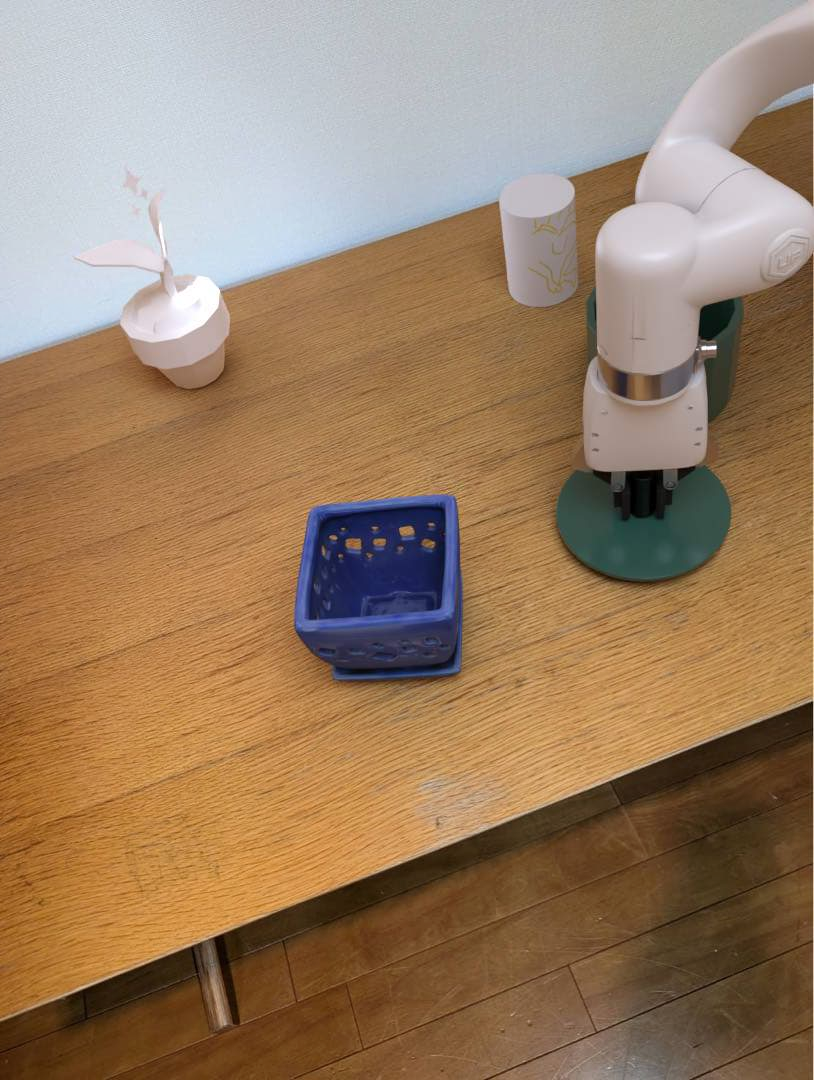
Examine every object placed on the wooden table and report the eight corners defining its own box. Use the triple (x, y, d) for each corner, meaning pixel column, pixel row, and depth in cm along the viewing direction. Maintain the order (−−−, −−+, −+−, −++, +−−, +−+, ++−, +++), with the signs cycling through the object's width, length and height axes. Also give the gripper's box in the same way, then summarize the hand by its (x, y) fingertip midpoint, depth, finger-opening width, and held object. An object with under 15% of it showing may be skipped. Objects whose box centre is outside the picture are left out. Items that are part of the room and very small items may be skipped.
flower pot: (335, 580, 95) (304, 501, 86) (473, 570, 93) (457, 488, 84) (324, 703, 87) (289, 631, 78) (474, 695, 85) (457, 620, 76)
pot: (721, 316, 108) (729, 235, 100) (744, 452, 96) (756, 372, 88) (585, 326, 111) (583, 248, 103) (591, 460, 99) (589, 383, 91)
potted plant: (235, 326, 121) (162, 139, 102) (255, 385, 114) (181, 195, 95) (136, 361, 120) (44, 178, 101) (151, 422, 113) (54, 238, 94)
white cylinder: (544, 316, 113) (537, 226, 104) (494, 289, 117) (483, 200, 108) (592, 279, 115) (590, 189, 106) (542, 254, 120) (535, 164, 111)
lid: (720, 449, 96) (725, 400, 91) (740, 582, 86) (747, 537, 81) (555, 457, 99) (552, 411, 94) (557, 588, 89) (553, 544, 84)
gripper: (747, 318, 78) (727, 472, 92) (542, 334, 81) (553, 481, 95) (760, 385, 74) (737, 536, 88) (542, 399, 77) (554, 543, 91)
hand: (642, 506), depth 92 cm, fingers closed on lid, 2 cm apart
